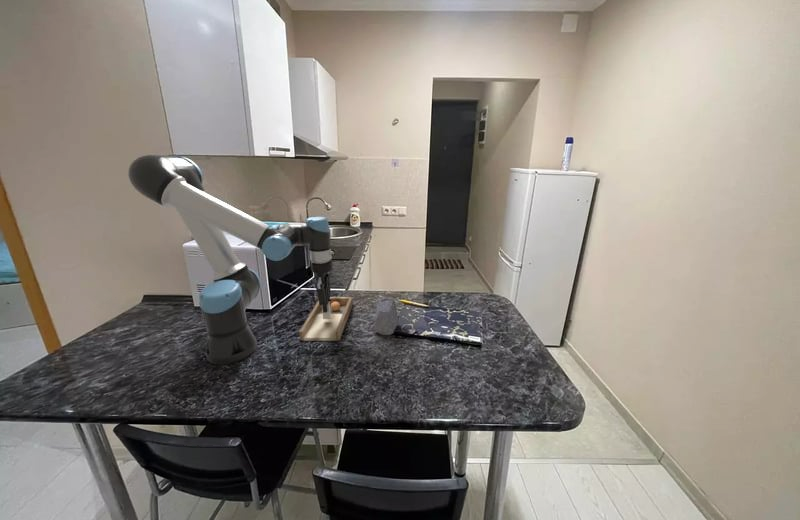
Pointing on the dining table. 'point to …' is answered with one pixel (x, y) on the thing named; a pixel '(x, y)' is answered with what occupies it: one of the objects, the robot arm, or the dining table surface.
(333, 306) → the ball
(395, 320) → the stone
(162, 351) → the dining table surface
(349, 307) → the tray
